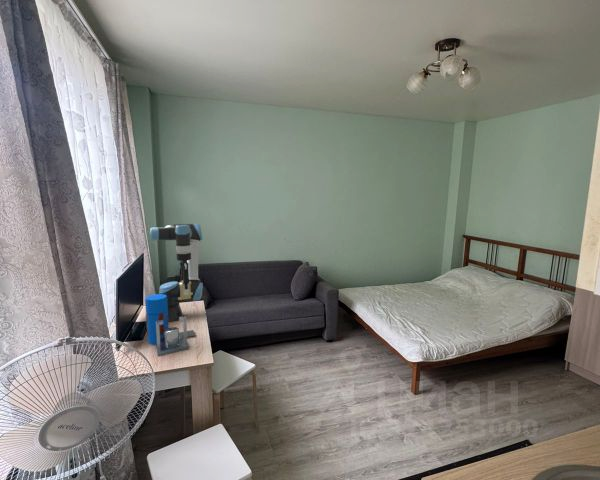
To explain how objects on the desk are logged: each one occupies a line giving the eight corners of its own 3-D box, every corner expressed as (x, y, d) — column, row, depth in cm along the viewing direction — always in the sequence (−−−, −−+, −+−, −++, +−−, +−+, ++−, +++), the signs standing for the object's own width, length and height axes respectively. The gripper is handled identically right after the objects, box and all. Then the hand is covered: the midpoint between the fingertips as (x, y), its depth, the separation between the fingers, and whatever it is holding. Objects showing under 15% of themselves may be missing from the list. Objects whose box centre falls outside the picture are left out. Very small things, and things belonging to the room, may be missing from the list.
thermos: (145, 339, 171) (143, 296, 167) (165, 334, 178) (163, 292, 174) (150, 346, 162) (148, 301, 159) (171, 340, 169) (169, 297, 166)
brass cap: (184, 301, 167) (184, 285, 165) (173, 300, 169) (173, 284, 167) (196, 295, 177) (196, 280, 176) (186, 294, 179) (185, 279, 178)
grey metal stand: (156, 346, 163) (154, 318, 161) (186, 340, 170) (185, 313, 168) (157, 356, 153) (155, 326, 151) (189, 349, 160) (188, 320, 158)
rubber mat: (179, 334, 178) (178, 332, 178) (193, 331, 181) (193, 329, 181) (180, 339, 171) (180, 338, 171) (195, 336, 174) (195, 335, 174)
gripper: (174, 250, 176) (176, 289, 179) (178, 256, 159) (180, 298, 162) (188, 249, 180) (189, 287, 183) (193, 255, 163) (195, 296, 166)
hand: (185, 292), depth 172 cm, fingers closed on brass cap, 6 cm apart
